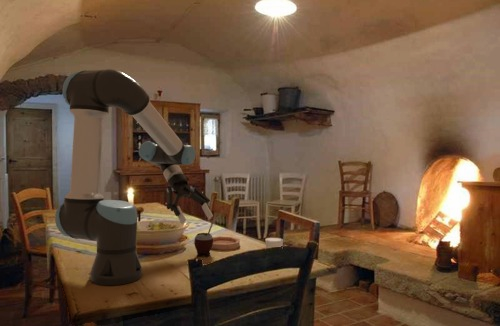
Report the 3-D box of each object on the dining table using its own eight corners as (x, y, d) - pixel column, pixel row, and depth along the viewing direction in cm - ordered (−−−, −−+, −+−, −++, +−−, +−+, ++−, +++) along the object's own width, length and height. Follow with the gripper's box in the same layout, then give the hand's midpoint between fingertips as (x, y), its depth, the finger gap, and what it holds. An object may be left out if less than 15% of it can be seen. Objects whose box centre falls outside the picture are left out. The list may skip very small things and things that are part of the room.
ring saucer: (219, 252, 151) (219, 246, 151) (199, 244, 161) (199, 239, 161) (246, 246, 160) (246, 241, 160) (225, 239, 171) (225, 235, 171)
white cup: (281, 260, 141) (282, 242, 141) (263, 259, 143) (263, 240, 143) (283, 255, 148) (284, 237, 148) (266, 254, 150) (266, 236, 149)
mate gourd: (190, 254, 146) (191, 215, 145) (206, 251, 152) (207, 213, 151) (203, 259, 141) (204, 218, 140) (219, 255, 147) (220, 216, 146)
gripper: (194, 182, 172) (216, 221, 162) (145, 185, 153) (167, 229, 144) (202, 171, 168) (225, 210, 158) (153, 173, 149) (175, 217, 140)
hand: (197, 219), depth 151 cm, fingers open, 13 cm apart
